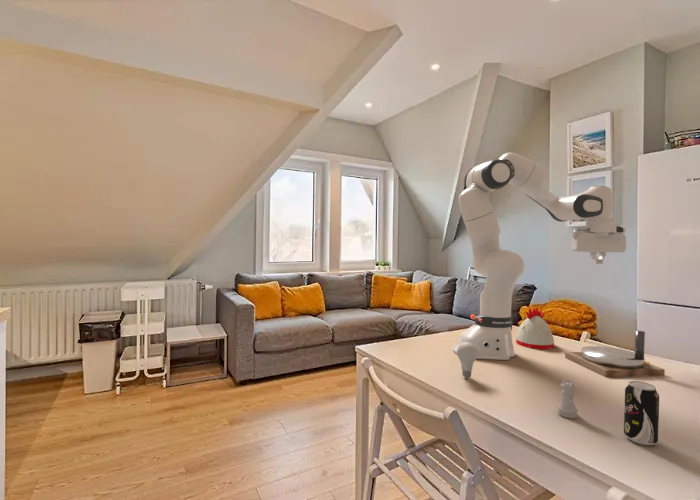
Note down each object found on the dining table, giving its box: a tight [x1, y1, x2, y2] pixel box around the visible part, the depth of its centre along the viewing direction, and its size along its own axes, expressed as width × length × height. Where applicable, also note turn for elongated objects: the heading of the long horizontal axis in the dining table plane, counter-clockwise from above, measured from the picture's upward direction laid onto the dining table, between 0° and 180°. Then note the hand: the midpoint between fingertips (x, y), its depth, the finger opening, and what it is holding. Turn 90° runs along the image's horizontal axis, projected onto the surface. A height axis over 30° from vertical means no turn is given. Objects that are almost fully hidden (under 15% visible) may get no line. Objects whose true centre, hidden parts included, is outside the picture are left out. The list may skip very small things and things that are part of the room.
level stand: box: [564, 351, 666, 378], centre depth 126 cm, size 20×19×2 cm
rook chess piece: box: [556, 380, 579, 420], centre depth 90 cm, size 4×4×8 cm
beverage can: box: [623, 380, 660, 447], centre depth 79 cm, size 6×6×12 cm
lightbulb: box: [456, 342, 478, 379], centre depth 114 cm, size 6×6×11 cm
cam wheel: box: [580, 330, 651, 368], centre depth 125 cm, size 19×18×11 cm
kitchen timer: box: [515, 307, 555, 350], centre depth 152 cm, size 14×14×15 cm
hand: (597, 263), depth 145 cm, fingers closed
